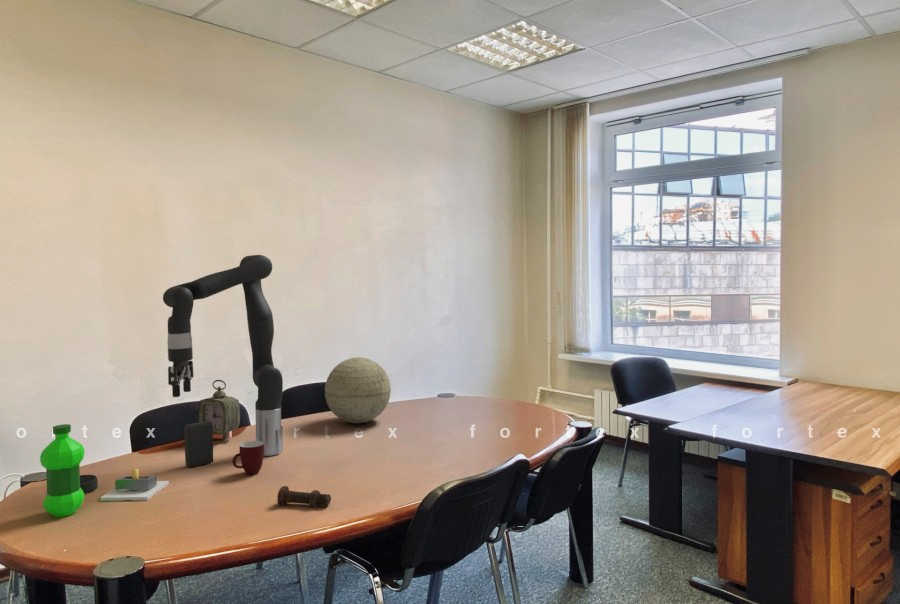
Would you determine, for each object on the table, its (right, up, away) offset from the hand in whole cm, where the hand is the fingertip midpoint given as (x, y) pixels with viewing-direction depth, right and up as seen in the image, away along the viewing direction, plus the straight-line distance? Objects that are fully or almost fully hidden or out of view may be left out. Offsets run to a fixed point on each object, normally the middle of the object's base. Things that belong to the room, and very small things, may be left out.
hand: (182, 394), depth 198 cm
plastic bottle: (-19, -29, -31) cm, 47 cm away
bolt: (+48, -29, -26) cm, 62 cm away
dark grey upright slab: (+1, -27, +12) cm, 30 cm away
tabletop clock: (-4, -26, +44) cm, 51 cm away
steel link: (-8, -27, -15) cm, 32 cm away
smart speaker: (-26, -29, -13) cm, 41 cm away
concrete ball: (+48, -25, +73) cm, 91 cm away
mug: (+22, -28, +2) cm, 35 cm away
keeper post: (-8, -28, -15) cm, 33 cm away
